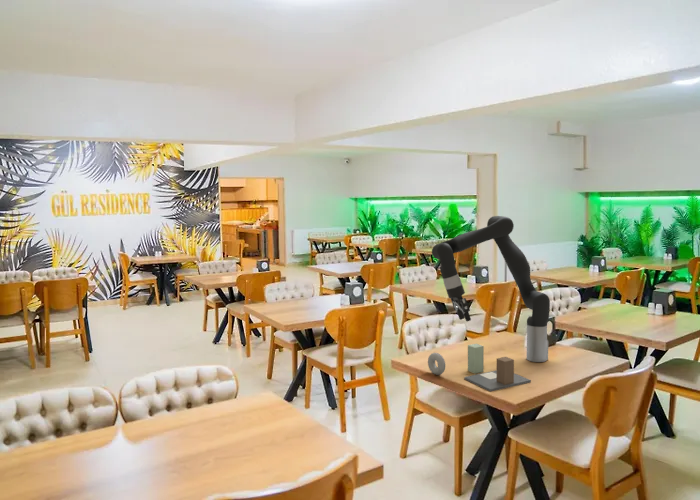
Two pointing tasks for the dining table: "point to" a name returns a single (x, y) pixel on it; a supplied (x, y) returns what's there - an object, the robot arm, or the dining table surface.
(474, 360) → the green pillar
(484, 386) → the build plate
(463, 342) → the dining table surface
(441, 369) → the donut
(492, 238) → the robot arm
